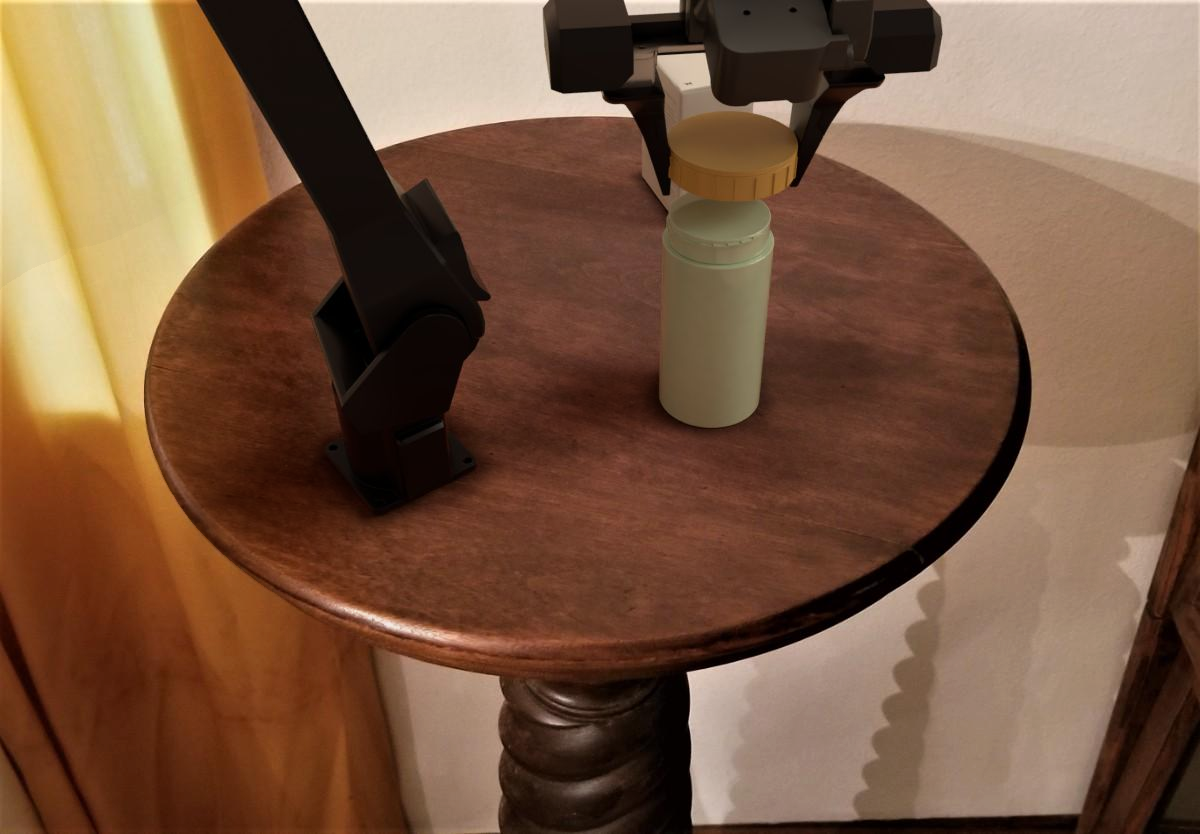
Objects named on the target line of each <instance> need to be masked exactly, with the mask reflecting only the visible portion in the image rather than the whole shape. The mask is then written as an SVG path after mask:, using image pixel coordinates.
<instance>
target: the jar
mask: <svg viewBox="0 0 1200 834" xmlns="http://www.w3.org/2000/svg"><path fill="white" fill-rule="evenodd" d="M665 223H666V224H665V229H664V230H663V233H662V237H661V242H662V243H661V274H660V275H661V276H660V278H661V281H660V322H659V323H660V324H659V325H660V327H659V363H658V364H659V367H658V368H659V369H658V398H659V399H658V400H659V402H660V404H661V406H662V408H663V409H664V410H665V411H666V412H667V414H669V415H670V416H671V417H672V418H674V419H676V420H678V421H679V422H681V423H684V424H686V425H690V426H693V427H697V428H705V429H719V428H725V427H730V426H733V425H737V424H739V423H741V422H744V421H745V420H747V419H748V418H749V417H751V415H752V414H753V413H754V412H755V411H756V409H757V408H758V406H759V403H760V395H761V387H762V377H763V368H764V367H763V366H764V354H765V345H766V335H767V325H768V314H769V305H770V304H769V303H770V292H771V283H772V274H773V273H772V272H773V261H774V252H775V237H774V234H773V232H772V230H771V223H772V214H771V210H770V208H769V207H768V205H767V204H766V203H765V202H764V201H763V200H762V199H758V200H752V201H740V202H730V201H718V200H712V199H707V198H703V197H700V196H696V195H694V194H691V193H687V194H685V195H683V196H681V197H679V198H678V199H677V200H675V201H674V202H673V204H672V205H671V207H670V209H669V212H668V214H667V216H666V221H665Z"/></svg>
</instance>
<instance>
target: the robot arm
mask: <svg viewBox="0 0 1200 834" xmlns="http://www.w3.org/2000/svg"><path fill="white" fill-rule="evenodd" d="M195 1H196V3H197V4H198V6H199V8H200V10H201V11H202V13H203V15H204V17H205V19H206V20H207V22H208V23H209V25H210V27H211V29H212V30H213V32H214V34H215V35H216V37H217V39H218V41H219V42H220V45H221V46H222V47H223V49H224V51H225V53H226V54H227V57H228V58H229V59H230V61H231V63H232V65H233V66H234V68H235V70H236V72H237V73H238V75H239V77H240V79H241V80H242V82H243V84H244V85H245V87H246V89H247V91H248V93H249V94H250V96H251V98H252V100H253V101H254V102H255V105H256V106H257V107H258V110H259V111H260V113H261V115H262V117H263V119H264V120H265V122H266V123H267V125H268V127H269V128H270V131H271V132H272V135H274V137H275V139H276V140H277V142H278V144H279V146H280V147H281V149H282V151H283V152H284V154H285V156H286V158H287V159H288V161H289V163H290V165H291V166H292V168H293V170H294V172H295V173H296V175H297V177H298V178H299V180H300V182H301V184H302V185H303V187H304V189H305V190H306V192H307V194H308V196H309V198H310V199H311V201H312V203H313V204H314V206H315V208H316V210H317V211H318V213H319V215H320V217H321V218H322V220H323V221H324V224H325V226H326V227H325V228H326V230H327V233H328V237H329V240H330V243H331V246H332V249H333V251H334V254H335V258H336V260H337V263H338V266H339V269H340V273H341V277H339V279H337V281H336V282H335V283H334V285H333V286H332V287H331V289H330V290H329V291H328V292H327V294H326V295H325V296H324V297H323V298H322V300H321V301H320V302H319V303H318V305H317V306H316V307H315V308H314V310H313V311H312V312H311V314H310V320H311V323H312V326H313V329H314V332H315V335H316V338H317V340H318V344H319V346H320V349H321V352H322V356H323V359H324V361H325V364H326V367H327V370H328V373H329V376H330V379H331V388H332V393H333V398H334V403H335V407H336V412H337V416H338V422H339V425H340V430H341V431H340V432H341V435H342V437H340V438H338V439H336V440H333V441H331V442H329V443H327V444H326V445H325V446H324V454H325V457H326V459H328V460H329V462H330V463H331V465H333V467H334V468H335V469H336V471H338V473H339V474H340V475H341V477H342V478H343V479H344V480H345V482H346V483H347V484H348V485H349V486H350V488H351V489H352V490H353V491H354V493H355V494H356V495H357V496H358V497H359V499H360V500H361V501H362V502H363V504H364V505H365V506H366V507H367V508H368V510H369V511H370V512H371V513H372V514H373V515H376V516H382V515H384V514H387V513H389V512H391V511H393V510H396V509H397V508H400V507H402V506H403V505H405V504H408V503H409V502H411V501H414V500H416V499H417V498H419V497H422V496H424V495H426V494H428V493H430V492H432V491H435V490H436V489H438V488H440V487H443V486H444V485H447V484H449V483H451V482H453V481H456V480H457V479H460V478H461V477H463V476H465V475H467V474H469V473H471V472H473V471H475V470H476V469H477V467H478V462H477V458H476V456H475V455H474V454H473V453H472V452H471V451H470V450H469V449H468V448H467V447H466V446H465V445H464V444H463V443H462V442H461V441H460V440H459V439H458V437H456V435H455V434H453V433H452V431H450V429H449V427H448V420H447V419H448V418H447V413H448V412H449V411H450V410H451V409H450V408H451V406H452V402H453V400H454V395H455V393H456V388H457V384H458V383H459V379H460V375H461V372H462V369H463V367H464V366H463V365H464V362H465V361H467V359H469V357H470V355H472V353H473V352H474V351H475V350H476V349H477V346H478V344H479V341H480V340H481V338H483V337H484V335H485V333H486V321H485V316H484V313H483V309H482V307H481V305H480V303H479V302H489V301H490V300H491V298H492V296H491V293H490V292H489V290H488V288H487V287H486V286H487V285H485V283H484V281H483V279H482V278H481V276H480V273H478V270H477V268H476V267H475V266H474V264H473V261H472V260H471V258H470V256H469V255H468V253H467V251H466V248H465V245H464V242H463V240H462V236H461V233H460V231H459V230H458V228H457V226H456V224H455V223H454V221H453V220H452V218H451V216H450V213H449V212H448V211H447V209H446V207H445V205H444V204H443V202H442V199H441V198H440V196H439V195H438V193H437V191H436V190H435V188H434V186H433V184H432V183H431V181H430V179H429V178H428V177H426V178H423V179H422V180H421V181H419V182H418V183H416V184H415V185H414V186H412V187H411V188H409V189H408V190H407V191H406V190H405V189H404V188H402V186H401V185H400V184H399V183H398V182H397V181H396V180H395V178H393V177H392V176H391V174H390V173H389V172H388V170H387V169H386V168H385V167H384V165H383V163H382V161H381V159H380V157H379V155H378V153H377V151H376V149H375V147H374V145H373V143H372V141H371V139H370V137H369V135H368V134H367V132H366V130H365V127H364V126H363V124H362V121H361V120H360V118H359V116H358V114H357V112H356V110H355V108H354V107H353V104H352V102H351V100H350V99H349V96H348V95H347V92H346V91H345V89H344V86H343V85H342V83H341V81H340V79H339V77H338V75H337V73H336V71H335V69H334V67H333V65H332V63H331V61H330V59H329V58H328V55H327V53H326V51H325V49H324V47H323V46H322V43H321V42H320V40H319V38H318V36H317V34H316V32H315V30H314V28H313V26H312V24H311V22H310V20H309V18H308V17H307V14H306V12H305V9H303V7H302V5H301V3H300V1H299V0H195ZM678 6H679V7H678V8H679V9H678V11H679V12H677V11H676V12H663V13H662V12H660V13H642V14H629V12H628V9H627V6H626V3H625V0H547V2H546V3H545V4H544V6H543V7H542V31H543V47H544V53H545V60H546V61H545V62H546V67H547V75H548V80H549V88H550V90H551V91H554V92H556V93H559V94H562V95H567V94H569V95H570V94H583V93H584V94H585V93H601V98H602V100H603V101H604V102H605V103H607V104H609V105H624V106H625V107H626V109H627V110H628V111H629V112H630V115H631V116H632V118H633V120H634V121H635V123H636V125H637V128H638V130H639V132H640V134H641V137H642V136H643V138H644V141H645V144H646V147H647V149H648V153H649V156H650V159H651V162H652V165H653V168H654V171H655V174H656V177H657V180H658V183H659V186H660V189H661V192H662V195H663V196H669V195H670V188H671V179H670V178H669V177H668V172H669V167H670V157H669V148H668V139H667V130H666V121H665V93H664V90H663V87H662V84H661V81H660V78H659V74H658V71H657V68H656V66H657V56H661V55H678V54H694V53H705V55H706V60H707V65H708V70H709V75H710V84H711V90H712V93H713V96H714V97H715V98H716V99H717V100H718V101H719V102H720V103H722V104H724V105H727V106H733V107H741V106H747V105H749V104H750V103H753V104H754V103H767V102H780V101H781V102H782V101H783V102H784V101H788V102H789V103H790V104H792V105H791V110H790V119H789V126H788V128H789V129H791V130H792V131H793V133H794V134H795V135H796V137H797V140H798V151H797V157H798V159H797V168H796V176H795V179H793V181H792V182H791V184H790V185H789V186H788V187H789V188H797V187H798V186H799V185H800V183H801V181H802V179H803V177H804V175H805V174H806V172H807V170H808V168H809V165H810V164H811V162H812V160H813V158H814V156H815V154H816V152H817V150H818V149H819V146H820V145H821V142H822V141H823V139H824V137H825V135H826V133H827V132H828V129H829V128H830V127H831V125H832V124H833V121H834V120H835V118H836V117H837V115H838V114H839V113H840V111H841V110H842V108H843V107H844V105H845V104H846V103H847V102H848V101H849V100H851V98H852V99H853V98H854V97H855V96H857V95H858V94H860V93H862V92H863V91H865V90H871V89H872V90H873V89H878V88H880V87H881V86H882V85H883V83H884V82H885V80H886V75H894V74H895V75H896V74H911V73H927V72H931V71H932V70H934V69H935V68H936V67H937V66H938V62H939V57H940V52H941V45H942V40H943V32H944V31H943V24H942V16H941V15H940V14H939V13H938V12H937V11H936V9H935V8H934V7H933V6H932V5H931V3H930V2H929V1H928V0H679V5H678Z"/></svg>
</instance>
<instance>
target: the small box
mask: <svg viewBox="0 0 1200 834" xmlns="http://www.w3.org/2000/svg"><path fill="white" fill-rule="evenodd" d="M656 68H657V71H658V74H659V78H660V81H661V84H662V87H663V90H664V93H665V121H666V130H667V137H668V134H669V132H670V130H671V129H672V128H673V127H674V126H675V125H676V124H677V123H679V122H681V121H682V120H684V119H687V118H689V117H692V116H695V115H699V114H703V113H708V112H717V111H739V112H748V113H754V102H753V103H750V104H749V105H747V106H741V107H733V106H727V105H724V104H722V103H720V102H719V101H718V100H717V99H716V98H715V97H714V96H713V93H712V90H711V84H710V75H709V70H708V65H707V60H706V55H705V53H694V54H678V55H661V56H657V66H656ZM641 177H642V179H644V181H645V182H646V184H648V186H649V188H650V189H651V190H652V192H653V193H654V195H656V197H657V198H658V200H659V201H660V203H661V204H662V205H663V206H664V208H665V209H666V210H667V212H668V213H669V209H670V207H671V205H672V204H673V202H674V201H675V200H677V199H678V198H679V197H681V196H683V195H685V194H687V193H689V192H687V191H685V190H683V189H681V188H680V187H678V186H677V185H676V184H675V183H674V182H673V181H672V180H671V188H670V195H669V196H663V195H662V192H661V189H660V186H659V183H658V180H657V177H656V174H655V171H654V168H653V165H652V162H651V159H650V156H649V153H648V149H647V147H646V144H645V141H644V138H643V136H642V135H641Z"/></svg>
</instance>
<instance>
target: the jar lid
mask: <svg viewBox="0 0 1200 834" xmlns="http://www.w3.org/2000/svg"><path fill="white" fill-rule="evenodd" d="M667 139H668V148H669V157H670V167H669V172H668V177H669V178H670V179H671V180H672V181H673V182H674V183H675V184H676V185H677V186H678V187H680V188H681V189H683V190H685V191H687V192H689V193H691V194H694V195H696V196H700V197H703V198H707V199H712V200H718V201H730V202H740V201H752V200H758V199H760V200H762V199H766V198H769V197H772V196H774V195H777V194H779V193H781V192H783V191H784V190H786V189H787V188H788V187H790V186H789V185H790V184H791V182H792V181H793V179H795V176H796V168H797V159H798V157H797V151H798V140H797V137H796V135H795V134H794V133H793V131H792V130H791V129H789V126H787V125H786V124H784V123H782V122H781V121H778V120H776V119H774V118H772V117H769V116H766V115H763V114H759V113H754V112H753V113H748V112H739V111H717V112H708V113H703V114H699V115H695V116H692V117H689V118H687V119H684V120H682V121H681V122H679V123H677V124H676V125H675V126H674V127H673V128H672V129H671V130H670V132H669V134H668V137H667Z"/></svg>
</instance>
